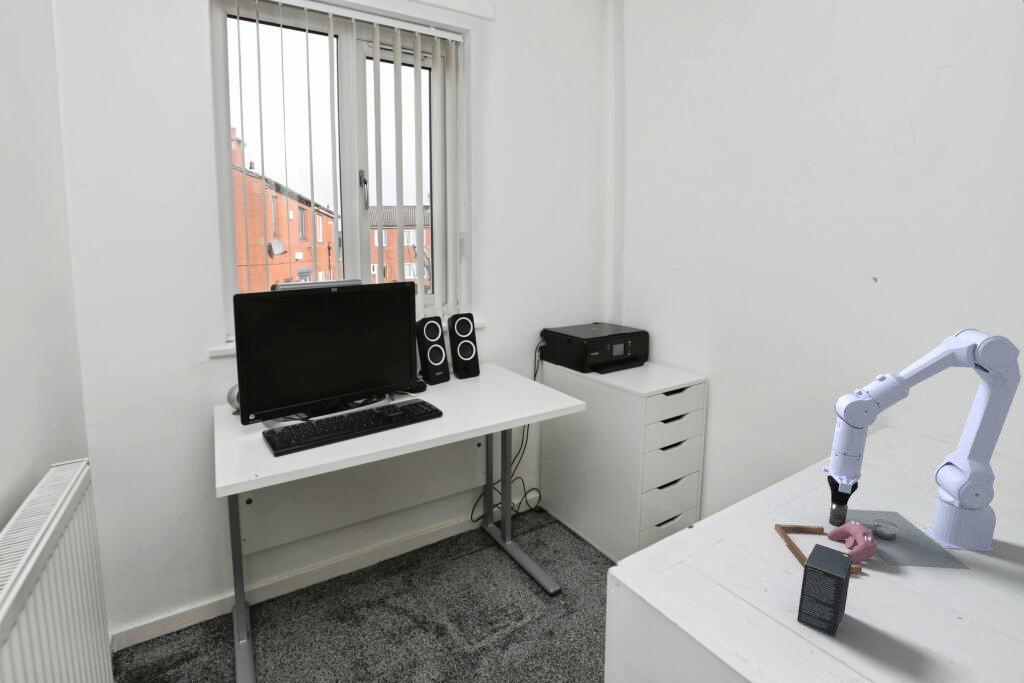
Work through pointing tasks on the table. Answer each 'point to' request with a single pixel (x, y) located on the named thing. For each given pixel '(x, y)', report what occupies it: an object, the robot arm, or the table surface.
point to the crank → (862, 522)
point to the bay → (794, 549)
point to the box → (824, 589)
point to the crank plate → (907, 543)
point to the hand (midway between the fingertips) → (837, 510)
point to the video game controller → (855, 540)
